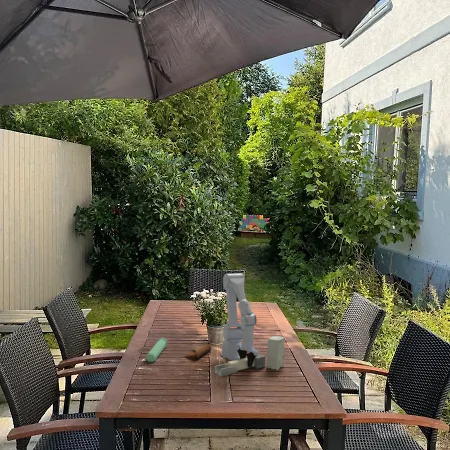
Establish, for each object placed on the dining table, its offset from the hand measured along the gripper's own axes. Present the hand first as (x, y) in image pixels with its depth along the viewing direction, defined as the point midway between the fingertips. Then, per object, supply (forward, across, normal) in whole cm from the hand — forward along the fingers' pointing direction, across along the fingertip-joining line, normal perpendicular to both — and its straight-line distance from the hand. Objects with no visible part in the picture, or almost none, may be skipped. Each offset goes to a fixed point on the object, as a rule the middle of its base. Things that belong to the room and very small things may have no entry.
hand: (246, 365), depth 238 cm
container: (+2, -40, -29) cm, 49 cm away
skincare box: (+2, +6, +14) cm, 15 cm away
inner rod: (+1, 0, -3) cm, 3 cm away
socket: (+1, 0, +6) cm, 7 cm away
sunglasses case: (+2, -29, -10) cm, 31 cm away
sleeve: (+1, 0, -12) cm, 12 cm away
